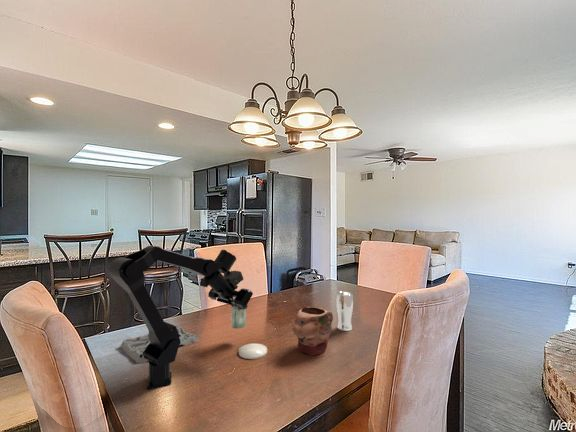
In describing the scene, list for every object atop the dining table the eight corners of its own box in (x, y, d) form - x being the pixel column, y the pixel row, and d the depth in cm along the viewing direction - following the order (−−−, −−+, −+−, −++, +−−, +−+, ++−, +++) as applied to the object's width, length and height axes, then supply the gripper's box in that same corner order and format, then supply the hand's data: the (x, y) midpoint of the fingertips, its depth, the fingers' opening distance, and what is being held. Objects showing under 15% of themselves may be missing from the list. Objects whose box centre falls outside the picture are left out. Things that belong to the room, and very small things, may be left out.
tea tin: (247, 327, 108) (247, 300, 108) (232, 329, 106) (232, 302, 106) (244, 322, 113) (244, 296, 113) (229, 324, 111) (229, 298, 111)
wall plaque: (139, 366, 93) (139, 354, 93) (118, 348, 105) (118, 337, 105) (203, 342, 110) (203, 332, 110) (179, 329, 123) (179, 320, 123)
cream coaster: (270, 355, 99) (270, 353, 99) (242, 361, 95) (242, 359, 95) (262, 343, 108) (262, 341, 108) (236, 348, 104) (236, 346, 104)
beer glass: (356, 328, 123) (356, 293, 123) (347, 333, 118) (347, 296, 118) (342, 323, 128) (342, 290, 128) (333, 328, 123) (333, 293, 122)
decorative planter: (317, 334, 117) (317, 300, 116) (343, 343, 108) (343, 306, 108) (284, 351, 102) (284, 312, 102) (311, 363, 94) (311, 321, 94)
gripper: (249, 267, 101) (269, 292, 110) (214, 262, 112) (235, 285, 121) (232, 295, 95) (255, 318, 103) (197, 286, 106) (220, 308, 114)
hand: (241, 306), depth 111 cm, fingers closed on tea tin, 5 cm apart
